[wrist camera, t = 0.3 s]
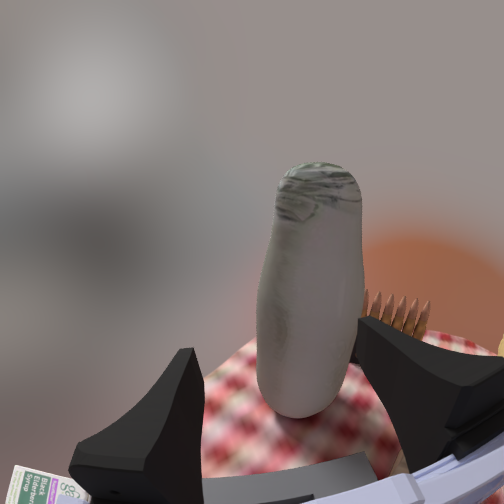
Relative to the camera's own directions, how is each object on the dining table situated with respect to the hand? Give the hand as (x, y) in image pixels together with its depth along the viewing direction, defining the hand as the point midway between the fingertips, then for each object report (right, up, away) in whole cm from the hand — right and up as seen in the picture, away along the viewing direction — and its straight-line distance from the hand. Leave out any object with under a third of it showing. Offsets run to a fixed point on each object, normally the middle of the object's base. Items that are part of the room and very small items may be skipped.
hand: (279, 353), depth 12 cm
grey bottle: (+4, -15, +22) cm, 27 cm away
